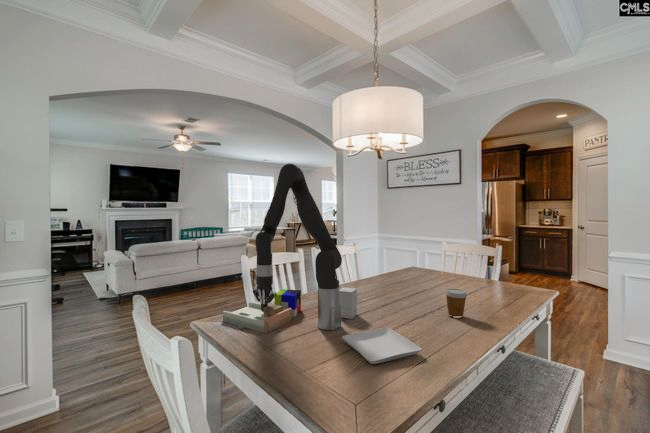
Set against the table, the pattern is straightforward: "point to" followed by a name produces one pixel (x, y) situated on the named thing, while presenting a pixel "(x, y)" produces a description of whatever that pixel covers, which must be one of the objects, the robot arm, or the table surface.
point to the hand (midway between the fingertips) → (264, 311)
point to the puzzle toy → (289, 300)
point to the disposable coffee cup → (455, 301)
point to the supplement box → (348, 302)
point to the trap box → (257, 318)
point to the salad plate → (381, 345)
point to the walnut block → (272, 310)
